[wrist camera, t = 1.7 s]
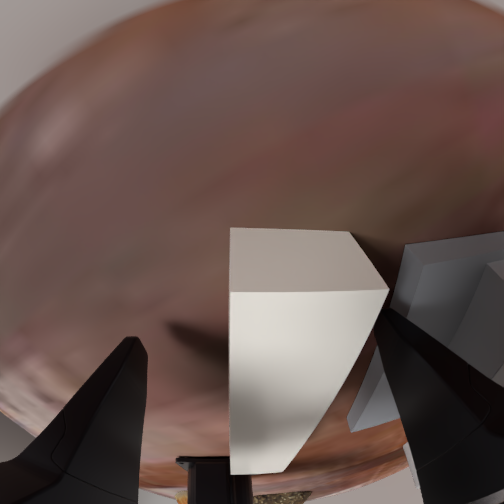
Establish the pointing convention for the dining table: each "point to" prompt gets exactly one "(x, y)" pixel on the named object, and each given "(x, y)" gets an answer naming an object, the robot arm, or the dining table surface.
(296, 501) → the mottled brown rock
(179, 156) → the dining table surface
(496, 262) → the grey pegged plate
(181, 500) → the pastry
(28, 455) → the robot arm
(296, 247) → the clay strip
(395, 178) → the dining table surface
